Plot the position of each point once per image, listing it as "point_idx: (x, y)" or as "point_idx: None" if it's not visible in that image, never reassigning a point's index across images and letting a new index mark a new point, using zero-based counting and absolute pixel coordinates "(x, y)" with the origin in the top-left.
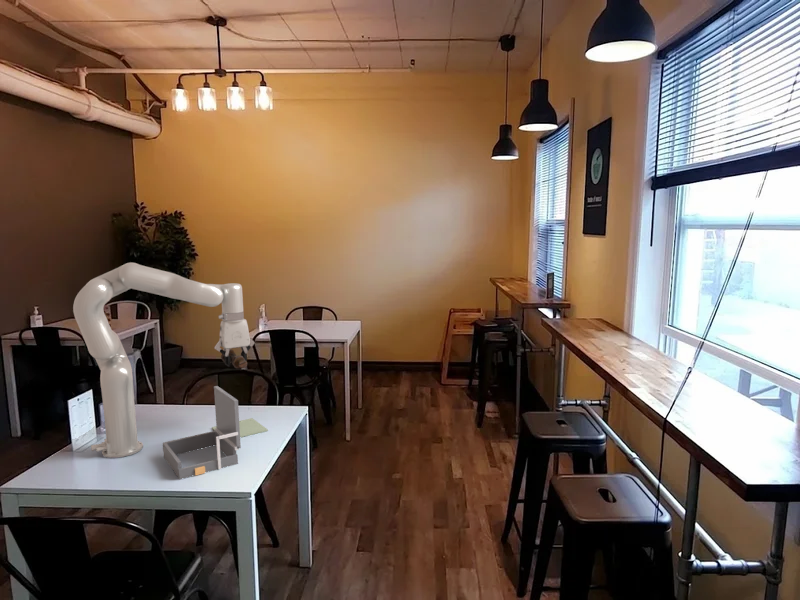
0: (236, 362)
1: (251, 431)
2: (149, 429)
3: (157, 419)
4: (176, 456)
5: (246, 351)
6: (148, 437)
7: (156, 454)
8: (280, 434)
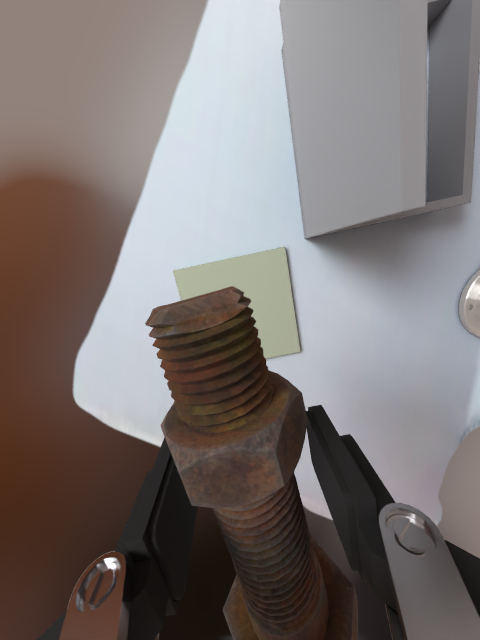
0: (265, 375)
1: (215, 275)
2: (420, 404)
3: (393, 456)
4: (471, 43)
5: (90, 592)
6: (433, 357)
7: (443, 237)
8: (144, 228)
